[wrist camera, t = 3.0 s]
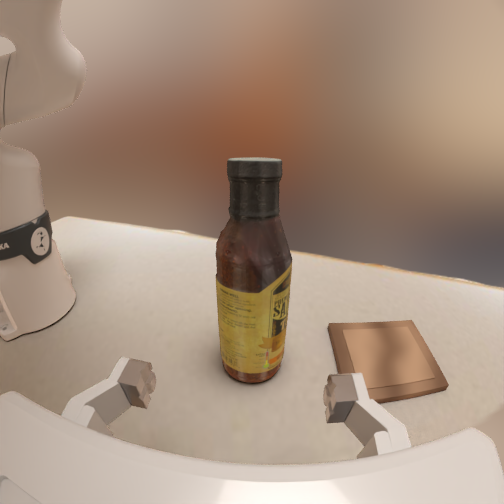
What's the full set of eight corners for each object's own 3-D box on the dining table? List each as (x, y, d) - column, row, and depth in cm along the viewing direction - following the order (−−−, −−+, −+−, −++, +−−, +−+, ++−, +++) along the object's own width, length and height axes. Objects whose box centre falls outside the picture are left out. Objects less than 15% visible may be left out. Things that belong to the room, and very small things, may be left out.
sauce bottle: (282, 387, 23) (304, 164, 15) (217, 383, 24) (201, 162, 16) (281, 343, 29) (295, 157, 21) (226, 340, 30) (220, 155, 22)
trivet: (345, 407, 21) (348, 401, 20) (327, 328, 32) (329, 322, 31) (445, 389, 20) (449, 384, 20) (409, 324, 31) (411, 319, 31)
